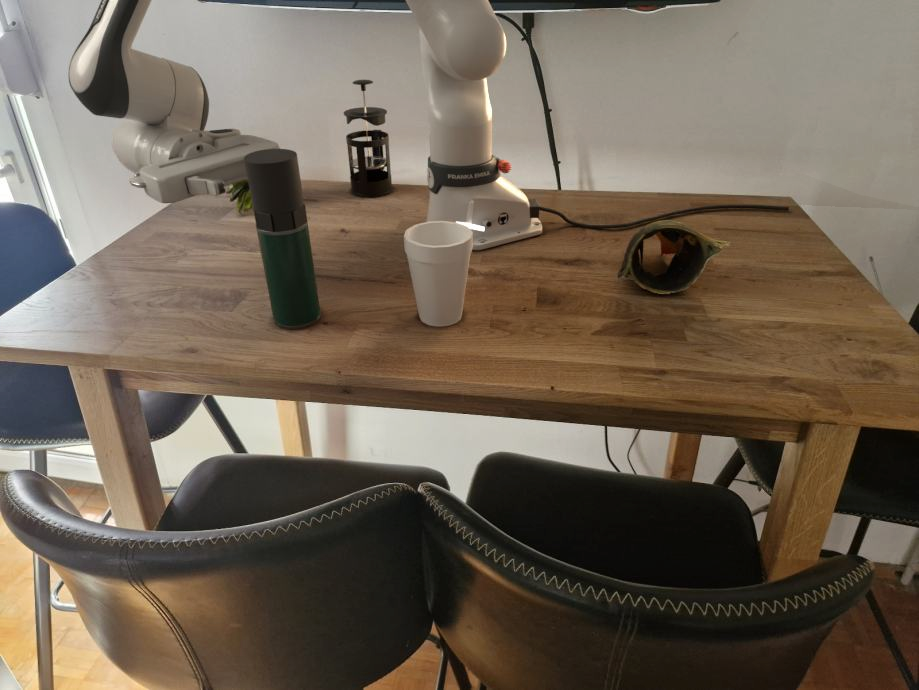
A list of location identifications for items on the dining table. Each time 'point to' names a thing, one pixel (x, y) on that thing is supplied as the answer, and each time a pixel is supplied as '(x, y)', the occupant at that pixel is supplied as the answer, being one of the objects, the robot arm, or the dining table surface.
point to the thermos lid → (275, 189)
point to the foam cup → (439, 269)
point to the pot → (674, 240)
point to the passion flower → (241, 195)
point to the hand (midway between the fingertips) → (249, 179)
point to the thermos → (290, 277)
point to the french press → (369, 168)
